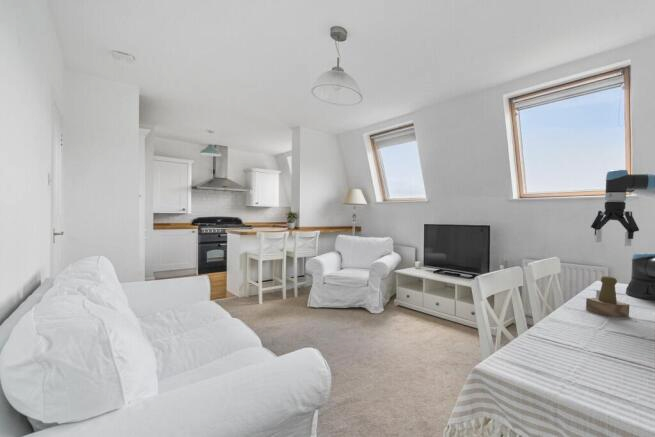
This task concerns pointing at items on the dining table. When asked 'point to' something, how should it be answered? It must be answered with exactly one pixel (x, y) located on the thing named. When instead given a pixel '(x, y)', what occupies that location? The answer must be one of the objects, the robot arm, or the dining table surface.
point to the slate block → (597, 293)
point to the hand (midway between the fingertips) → (612, 243)
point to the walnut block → (607, 307)
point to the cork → (608, 290)
